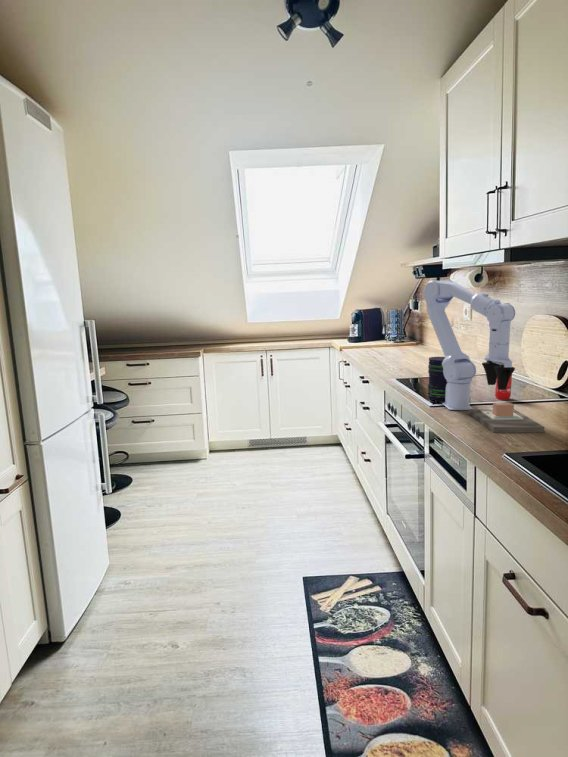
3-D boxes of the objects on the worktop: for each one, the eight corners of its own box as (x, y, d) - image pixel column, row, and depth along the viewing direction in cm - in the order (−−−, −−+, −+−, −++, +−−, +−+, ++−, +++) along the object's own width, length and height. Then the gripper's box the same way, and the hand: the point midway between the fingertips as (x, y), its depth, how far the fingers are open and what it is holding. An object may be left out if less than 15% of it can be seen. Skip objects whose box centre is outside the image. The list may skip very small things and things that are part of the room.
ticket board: (468, 413, 166) (468, 407, 165) (512, 413, 165) (513, 407, 165) (493, 432, 144) (493, 425, 144) (544, 432, 143) (544, 425, 143)
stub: (485, 414, 157) (485, 402, 157) (515, 414, 157) (515, 402, 156) (492, 419, 152) (493, 406, 151) (523, 419, 151) (524, 406, 150)
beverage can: (501, 400, 183) (503, 367, 181) (491, 397, 188) (493, 365, 186) (513, 399, 185) (515, 366, 183) (503, 396, 190) (505, 364, 188)
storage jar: (452, 396, 192) (453, 356, 189) (458, 402, 182) (460, 360, 180) (425, 396, 193) (426, 356, 190) (429, 401, 183) (431, 360, 181)
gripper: (476, 341, 165) (474, 383, 167) (496, 346, 150) (493, 391, 153) (498, 340, 165) (496, 382, 167) (520, 345, 150) (517, 391, 153)
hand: (496, 387), depth 160 cm, fingers open, 7 cm apart
